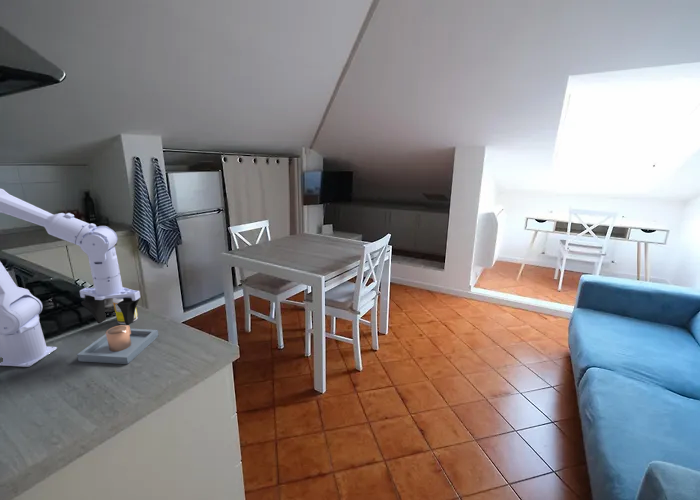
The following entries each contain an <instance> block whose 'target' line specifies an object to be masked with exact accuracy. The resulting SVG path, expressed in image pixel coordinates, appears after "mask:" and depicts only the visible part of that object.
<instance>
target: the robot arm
mask: <svg viewBox="0 0 700 500" xmlns="http://www.w3.org/2000/svg"><path fill="white" fill-rule="evenodd" d="M0 213H1V214H5V215H8V216H11V217H14V218H17V219H19V220H21V221H22V220H23V221H26V222H29V223H33V224H35V225H38V226H40V227H43V228H44V229H45V231H46V232H47V234H48V235H50V236H52V237H55V238H58V239H60V240H62V241H65V242H68V243H71V244H74V245H76V246H79V247H80V250H82V252H84V253H85V254H86V255H87V258H88V262H89V267H90V273H91V277H92V282H93V287H84V288H82V289H80V290H79V295H80V298H82V299H84V300H82V301H81V302H80V303H81V305H82V306H83V307H85V308H86V309H87V310H88V311H89V312H90V313H91V315H92V316H93V318H94V319H95V321H96V322H97V324H101V323H103V322H105V321H106V320H107V317H106V313H105V299H107V298H119V299H123V301H121V302H119V303H118V304H117V305H118V307H119V308H120V310H121V311H122V314H123V317H124V321H125V324H124V325H126V326H127V325H129V326H130V325H131V324H132V323H134V322H135V321H134V313H135V309H136V308H137V305H138V303H139V301H140V299H141V291H140V290H134V289H130V288H128V287H124V286H123V283H122V277H121V271H120V265H119V259H118V255H117V251H116V246H115V245H116V244H117V243H118V235H117V233H116V231H114V230H113V229H112V228H110V227H109V226H106V225H99V226H97V225H96V224H95V223H89V222H86V221H83V220H81V219H78V218H76V217H75V215H74V214H73V213H71V212H67V213H64V212H59V213H55V214H53V213H51V212H49V211H48V210H44V209H42V208H40V207H38V206H36V205H34V204H31V203H30V202H27V201H25V200H23V199H20V198H19V197H16V196H14V195H11V194H10V193H8V192H7V191H6V190H5V189H4V188H0ZM42 311H43V302H42V301H41V300H40V298H38V297H36V296H34V295H33V294H32V293H31V292H30V290H29V289H28V288H23V287H19V286H18V285H17V284H16V283H15V282H14V280H13V278H12V277H11V275H10V274H9V272H8V271H7V269H6V267H5V266H4V265H3V263H2V262H1V261H0V357H2V358H3V362H1V363H0V366H7V367H23V368H29V367H31V366H33V365H35V364H36V363H37V362H39V361H40V360H42V359H44V358H45V357H47V356H48V355H49V354H51V353H53V352H54V351H56V350H57V349H58V347H57V346H47V343H46V340H45V336H44V333H43V330H42V325H41V323H40V314H41V313H42ZM133 321H134V322H133Z"/></svg>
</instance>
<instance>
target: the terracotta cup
mask: <svg viewBox="0 0 700 500" xmlns="http://www.w3.org/2000/svg"><path fill="white" fill-rule="evenodd" d="M130 329H131V327H130V324H129V325H126V324H120V325H115V326H112V327H110V328H108V329H107V330H106V331H105V334H106V337H107V341H108V345H109V350H110V351H113V352H116V351H122V350H124V349H127V348H128V347H130V346H131V339H130V334H131V330H130Z"/></svg>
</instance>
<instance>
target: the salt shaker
mask: <svg viewBox="0 0 700 500" xmlns="http://www.w3.org/2000/svg"><path fill="white" fill-rule="evenodd" d="M105 312H109V313H113V312H115V309H114V304H113V298H107V299H105Z"/></svg>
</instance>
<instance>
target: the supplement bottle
mask: <svg viewBox="0 0 700 500" xmlns="http://www.w3.org/2000/svg"><path fill="white" fill-rule="evenodd" d="M121 301H123V299H119V298H113V304H114V309H115V313H116V316H115V317H116V321H117V323H118V324H120V325H126V324H125V321H124V317H123V314H122V311H121V310H120V308H119V307H118V305H117V304H118V303H119V302H121ZM138 318H139V314H138V309H137V307H136V309H135V313H134V321H133V322H132V323H134V322H136V321H137V320H138Z"/></svg>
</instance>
